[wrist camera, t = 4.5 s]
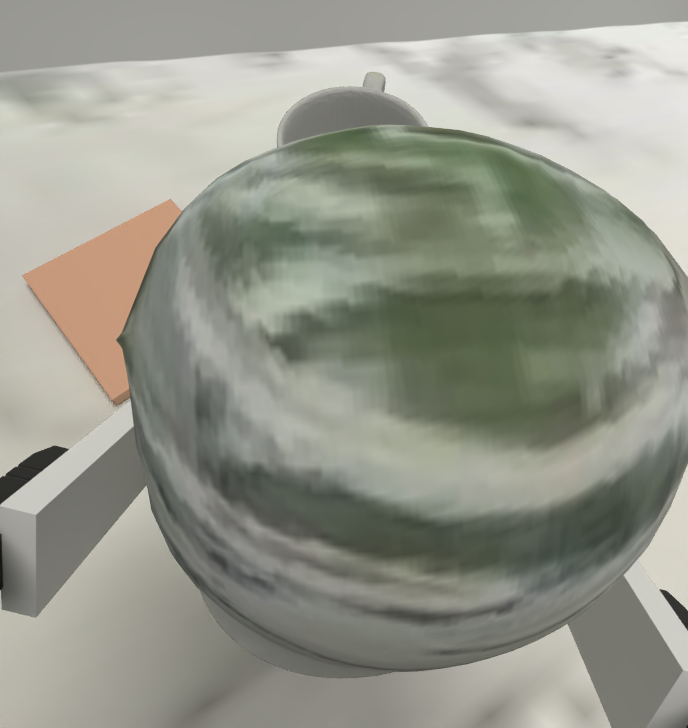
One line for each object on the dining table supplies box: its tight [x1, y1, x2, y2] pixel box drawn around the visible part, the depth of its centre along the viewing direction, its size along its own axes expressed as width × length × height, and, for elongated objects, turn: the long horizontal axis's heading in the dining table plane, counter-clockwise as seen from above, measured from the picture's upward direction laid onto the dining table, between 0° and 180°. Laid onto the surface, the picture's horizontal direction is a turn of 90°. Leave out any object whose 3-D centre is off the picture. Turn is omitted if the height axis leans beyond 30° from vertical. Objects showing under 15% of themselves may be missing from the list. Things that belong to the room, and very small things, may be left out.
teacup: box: [277, 72, 428, 147], centre depth 38 cm, size 14×11×8 cm
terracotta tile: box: [22, 199, 182, 405], centre depth 35 cm, size 12×12×1 cm
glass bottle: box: [116, 124, 688, 678], centre depth 17 cm, size 10×10×28 cm
